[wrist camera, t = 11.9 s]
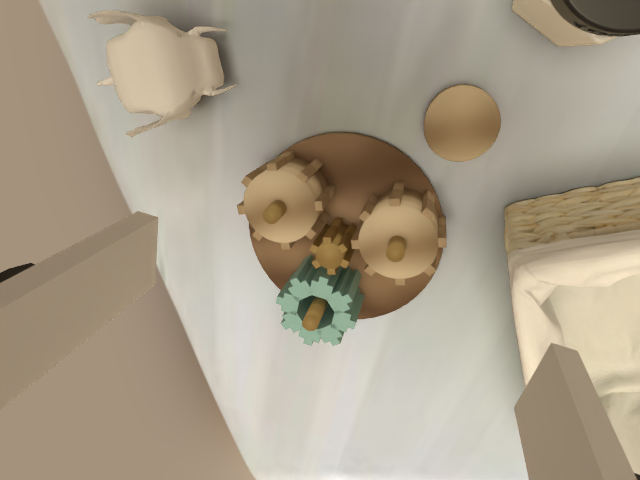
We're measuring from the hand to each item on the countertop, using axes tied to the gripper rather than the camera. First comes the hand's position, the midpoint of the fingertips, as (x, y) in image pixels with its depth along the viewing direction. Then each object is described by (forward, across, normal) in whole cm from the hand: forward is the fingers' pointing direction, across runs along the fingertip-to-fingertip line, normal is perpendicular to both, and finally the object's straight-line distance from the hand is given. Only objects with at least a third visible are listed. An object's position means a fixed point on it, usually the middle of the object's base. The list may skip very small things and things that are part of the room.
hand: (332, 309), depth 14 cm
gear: (+26, -3, -15) cm, 30 cm away
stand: (+27, +4, +4) cm, 27 cm away
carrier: (+27, -3, -9) cm, 28 cm away
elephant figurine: (+27, -21, +2) cm, 34 cm away
